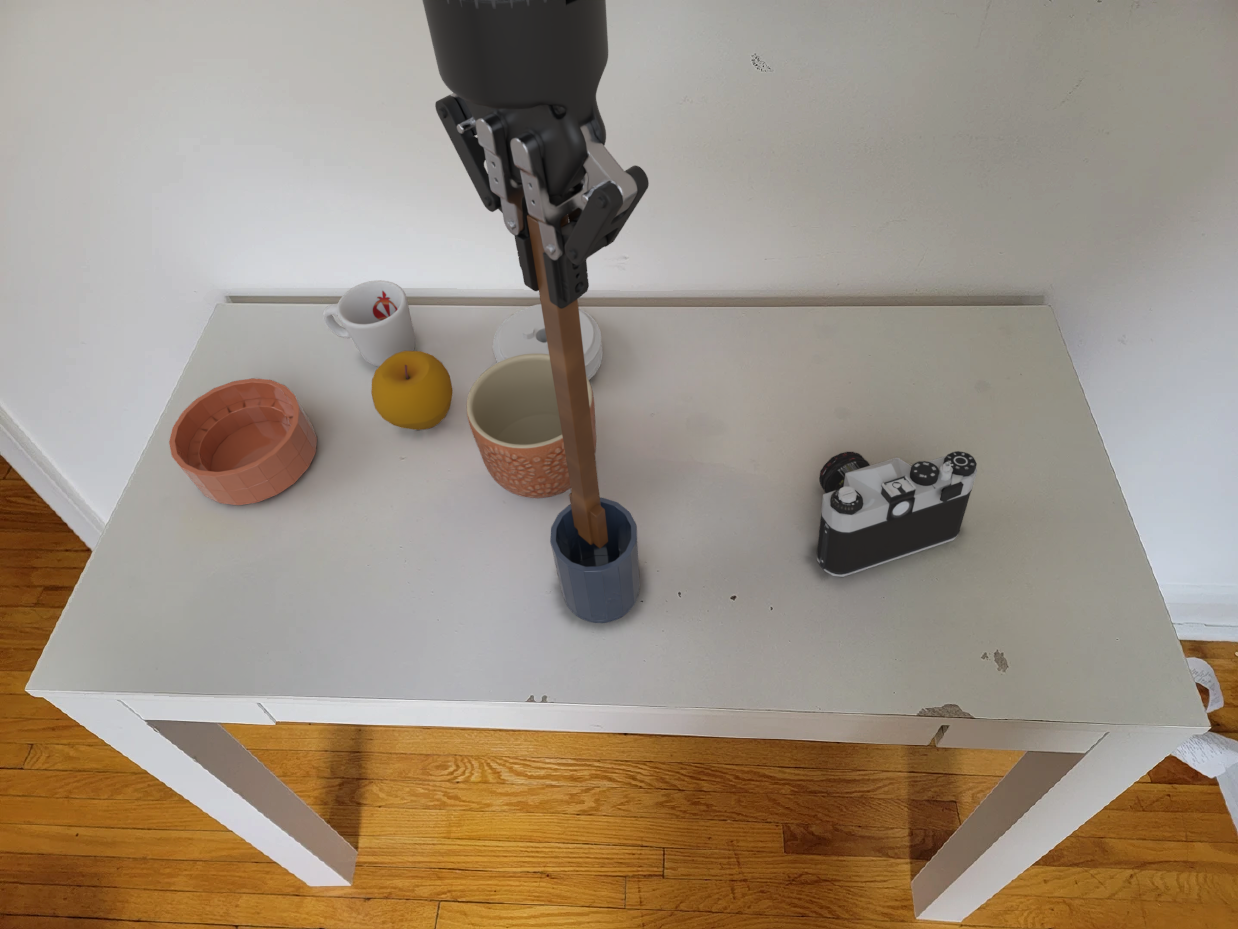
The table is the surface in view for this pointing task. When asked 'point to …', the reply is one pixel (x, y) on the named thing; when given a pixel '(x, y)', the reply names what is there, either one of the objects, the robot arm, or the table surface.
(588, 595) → the crock
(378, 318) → the cup
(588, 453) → the stick
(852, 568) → the camera
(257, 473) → the bowl
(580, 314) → the white thick round disc
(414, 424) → the apple
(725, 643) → the table surface
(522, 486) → the planter
